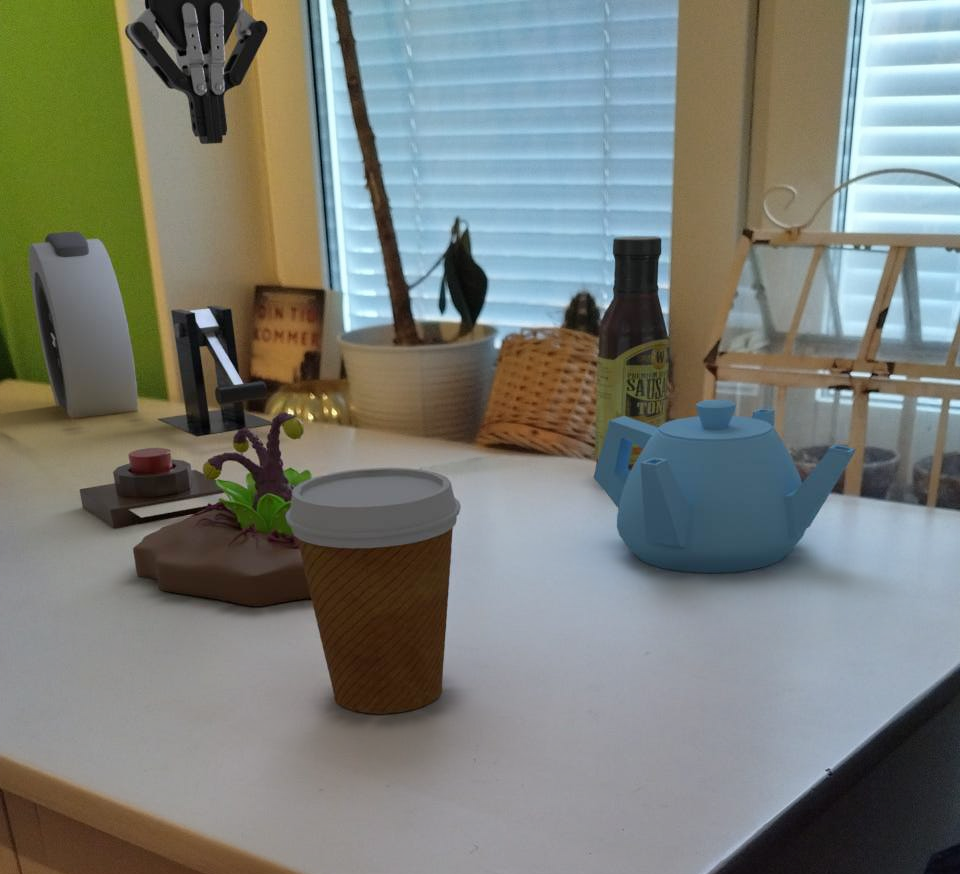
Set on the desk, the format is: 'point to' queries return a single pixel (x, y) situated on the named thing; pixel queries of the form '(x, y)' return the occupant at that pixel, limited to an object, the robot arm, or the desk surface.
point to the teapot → (712, 489)
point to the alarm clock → (82, 326)
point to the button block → (146, 494)
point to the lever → (225, 363)
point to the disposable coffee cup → (378, 581)
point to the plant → (236, 532)
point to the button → (150, 460)
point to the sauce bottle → (632, 343)
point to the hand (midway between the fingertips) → (211, 143)
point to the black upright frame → (193, 380)
